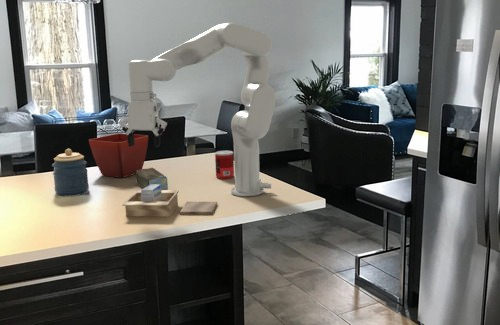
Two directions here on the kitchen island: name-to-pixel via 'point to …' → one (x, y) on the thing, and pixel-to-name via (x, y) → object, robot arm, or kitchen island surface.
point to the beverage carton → (151, 178)
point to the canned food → (224, 164)
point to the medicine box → (152, 193)
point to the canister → (70, 174)
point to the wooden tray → (152, 204)
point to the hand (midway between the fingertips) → (144, 146)
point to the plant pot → (119, 154)
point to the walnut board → (198, 208)
